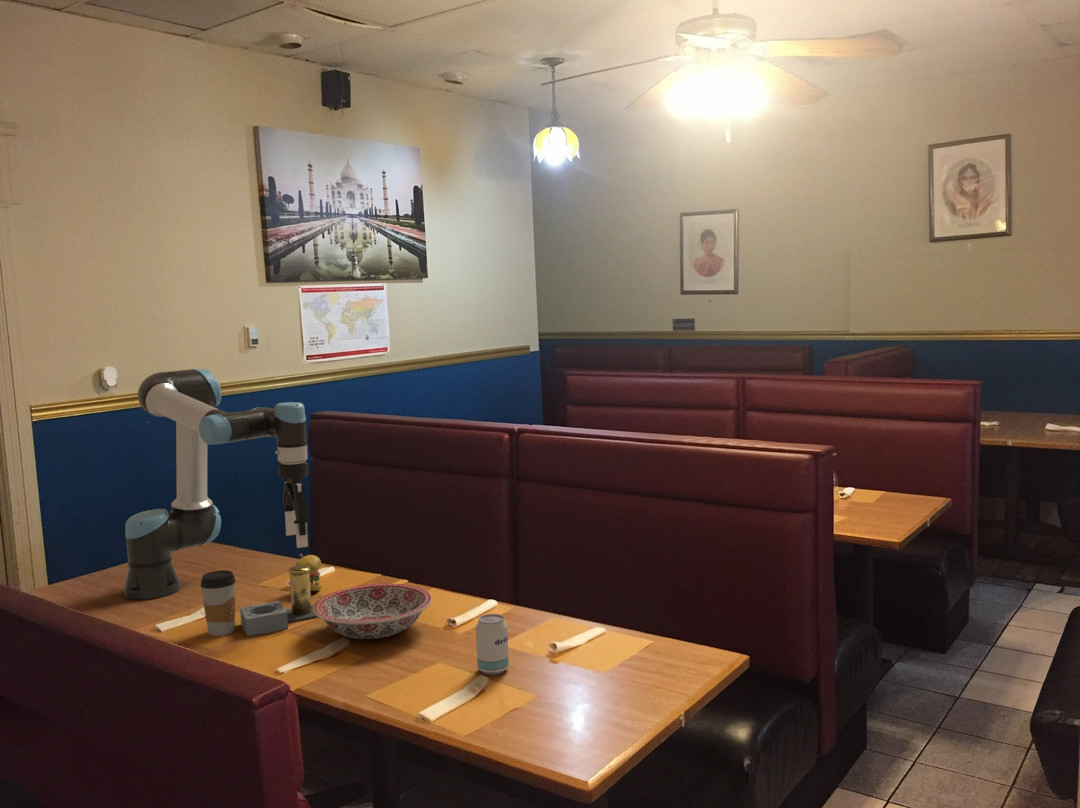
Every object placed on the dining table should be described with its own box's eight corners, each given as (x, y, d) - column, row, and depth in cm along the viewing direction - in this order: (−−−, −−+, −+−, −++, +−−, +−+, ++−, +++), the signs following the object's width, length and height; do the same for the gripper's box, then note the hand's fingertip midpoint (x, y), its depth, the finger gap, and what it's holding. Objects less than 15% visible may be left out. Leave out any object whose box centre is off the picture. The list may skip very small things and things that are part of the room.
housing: (241, 624, 230) (239, 607, 230) (280, 617, 235) (279, 600, 234) (247, 636, 222) (246, 619, 221) (288, 628, 226) (286, 611, 226)
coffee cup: (227, 638, 220) (223, 580, 219) (197, 637, 222) (193, 579, 220) (245, 626, 229) (241, 570, 227) (215, 625, 230) (211, 569, 229)
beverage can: (497, 679, 192) (495, 625, 190) (471, 673, 195) (469, 620, 194) (514, 668, 197) (513, 615, 196) (489, 662, 201) (487, 611, 200)
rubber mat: (281, 612, 238) (281, 610, 238) (315, 606, 243) (315, 604, 242) (288, 622, 231) (288, 620, 230) (323, 616, 235) (322, 614, 234)
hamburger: (328, 590, 256) (326, 550, 255) (309, 598, 250) (307, 556, 249) (309, 586, 260) (307, 547, 259) (290, 594, 254) (288, 553, 253)
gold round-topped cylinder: (288, 610, 238) (286, 567, 237) (309, 607, 240) (307, 564, 239) (293, 617, 233) (290, 572, 232) (314, 613, 235) (312, 569, 234)
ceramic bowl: (454, 620, 229) (453, 590, 228) (389, 662, 203) (388, 628, 202) (361, 607, 241) (360, 578, 240) (289, 645, 215) (287, 613, 214)
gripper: (269, 455, 241) (273, 531, 244) (287, 471, 219) (292, 554, 222) (297, 453, 245) (300, 528, 247) (318, 468, 223) (322, 550, 225)
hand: (296, 540), depth 235 cm, fingers open, 13 cm apart
